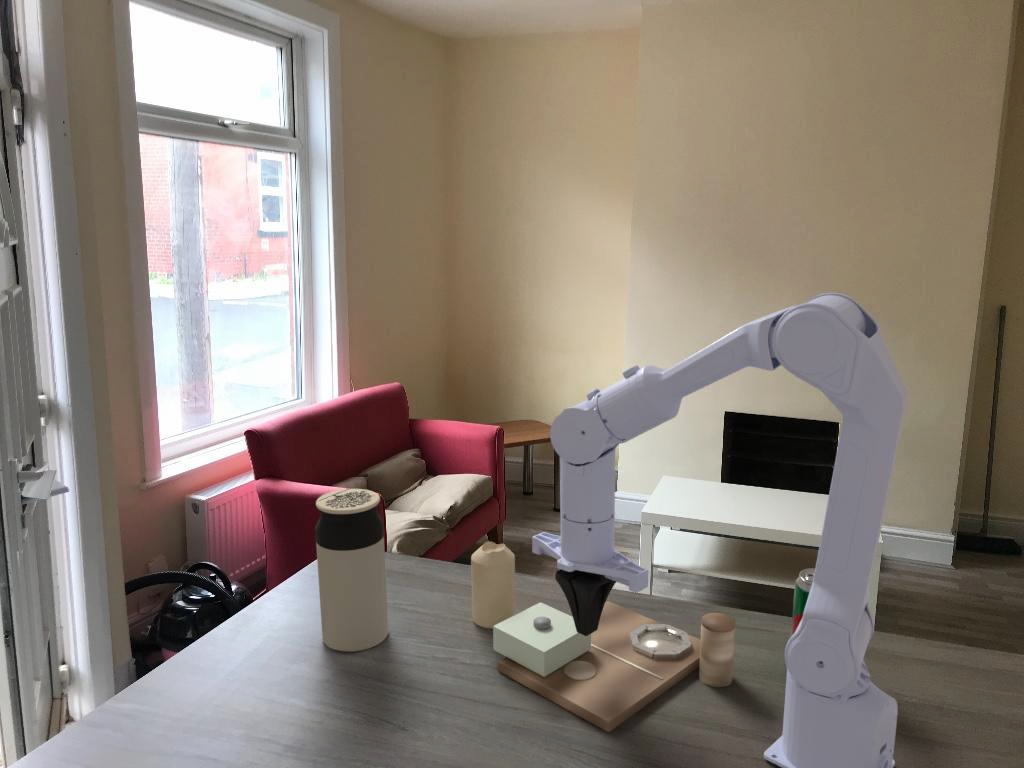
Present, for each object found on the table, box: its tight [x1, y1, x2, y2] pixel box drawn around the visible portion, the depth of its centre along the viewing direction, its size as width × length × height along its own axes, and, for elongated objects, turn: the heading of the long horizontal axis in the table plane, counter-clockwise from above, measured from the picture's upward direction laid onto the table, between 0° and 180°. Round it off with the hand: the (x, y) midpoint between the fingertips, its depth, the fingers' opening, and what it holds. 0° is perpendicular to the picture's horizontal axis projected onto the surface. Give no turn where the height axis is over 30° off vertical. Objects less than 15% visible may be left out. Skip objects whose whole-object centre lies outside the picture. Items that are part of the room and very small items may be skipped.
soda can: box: [790, 567, 816, 638], centre depth 91 cm, size 5×5×12 cm
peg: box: [698, 612, 736, 688], centre depth 91 cm, size 4×4×7 cm
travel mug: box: [315, 488, 389, 653], centre depth 99 cm, size 8×8×18 cm
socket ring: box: [630, 623, 691, 659], centre depth 97 cm, size 7×7×1 cm
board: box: [497, 600, 701, 733], centre depth 95 cm, size 16×20×1 cm
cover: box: [492, 602, 591, 677], centre depth 95 cm, size 8×8×4 cm
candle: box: [470, 541, 516, 630], centre depth 104 cm, size 6×6×10 cm
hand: (587, 630), depth 90 cm, fingers closed
